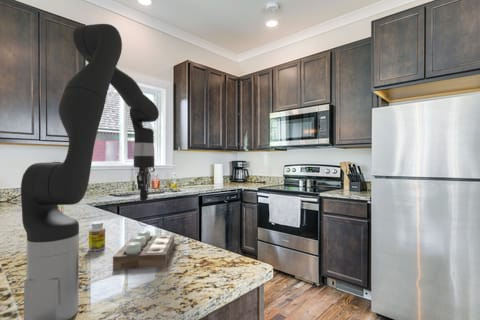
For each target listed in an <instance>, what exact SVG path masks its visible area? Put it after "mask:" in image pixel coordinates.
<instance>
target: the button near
mask: <svg viewBox="0 0 480 320" xmlns="http://www.w3.org/2000/svg"><path fill="white" fill-rule="evenodd" d="M125 244H126V243H125ZM140 253H141V243H140V242H131V243H128V244H126V255H132V254H140Z"/></svg>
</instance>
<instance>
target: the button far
mask: <svg viewBox="0 0 480 320" xmlns="http://www.w3.org/2000/svg"><path fill="white" fill-rule="evenodd" d="M137 236H145V237H146V241H150V236H151V231H150V230H140V231H137Z"/></svg>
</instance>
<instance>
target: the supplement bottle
mask: <svg viewBox="0 0 480 320" xmlns="http://www.w3.org/2000/svg"><path fill="white" fill-rule="evenodd" d="M105 248H106V227H105V226H104V222H103V221H94V222H91V228H89V229H88V250H89V251H91V252H98V251H103V250H104V249H105Z"/></svg>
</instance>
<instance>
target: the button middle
mask: <svg viewBox="0 0 480 320" xmlns="http://www.w3.org/2000/svg"><path fill="white" fill-rule="evenodd" d="M132 237H133V236H132ZM132 237H131V238H132ZM132 242H140V243H141V247H145V246H146V237H145V236H138V235H136V237H133V238H132Z"/></svg>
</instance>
